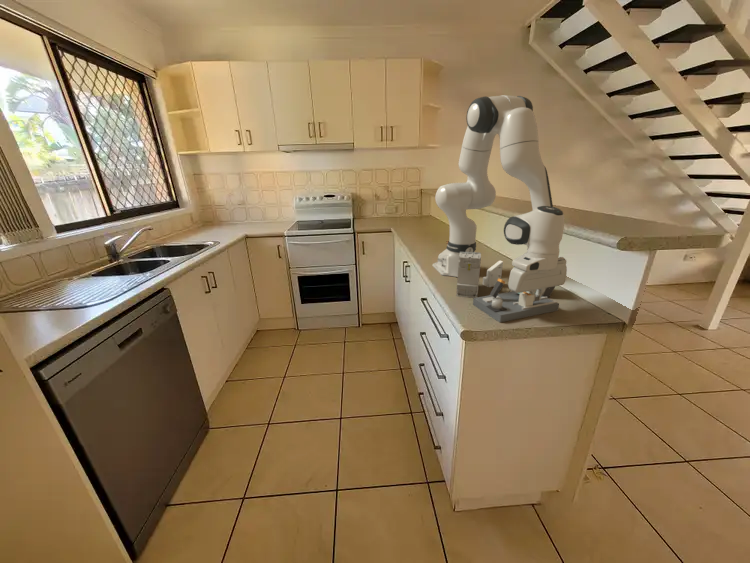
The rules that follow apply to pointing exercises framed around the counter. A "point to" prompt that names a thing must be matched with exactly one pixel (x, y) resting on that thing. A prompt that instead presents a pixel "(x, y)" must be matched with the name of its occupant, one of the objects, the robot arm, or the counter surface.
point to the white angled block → (493, 274)
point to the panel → (514, 306)
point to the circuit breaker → (468, 274)
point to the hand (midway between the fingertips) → (534, 300)
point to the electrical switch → (548, 291)
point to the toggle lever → (497, 288)
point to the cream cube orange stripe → (526, 299)
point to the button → (497, 303)
